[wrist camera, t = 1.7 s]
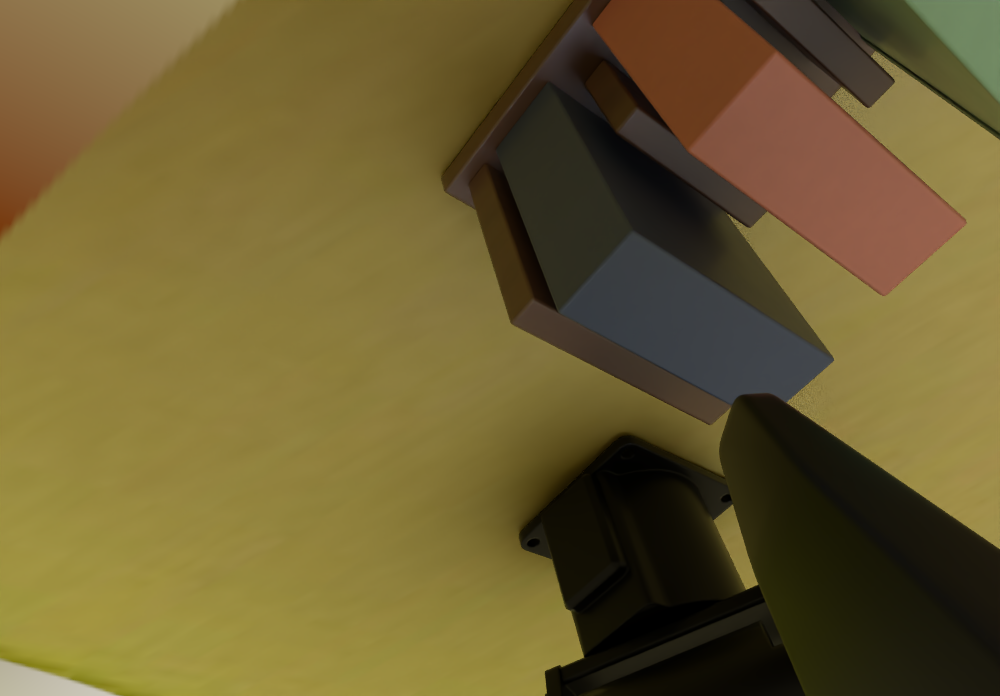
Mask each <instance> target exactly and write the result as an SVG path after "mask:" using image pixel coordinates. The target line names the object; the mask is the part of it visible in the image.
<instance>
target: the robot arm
mask: <svg viewBox="0 0 1000 696" xmlns="http://www.w3.org/2000/svg"><path fill="white" fill-rule="evenodd" d="M626 449H628V450H626ZM719 455H720V461H721V465H722V469H723V472H724V475H725V479H724V478H721V477H719V476H717V475H715V474H713V473H711V472H709V471H706V470H704V469H702V468H700V467H698V466H696V465H694V464H691V463H689V462H687V461H685V460H683V459H681V458H679V457H677V456H674V455H672V454H670V453H668V452H666V451H664V450H662V449H659V448H657V447H655V446H653V445H651V444H649V443H647V442H644V441H642V440H640V439H638V438H636V437H633V436H624V437H621V438H619V439H618V440H616V441H615V442H614V443H613V444H612V445H611V446H610V447H609V448H608V449H607V450H606V451H604V452H603V453H602V454H601V455H600V456H599V457H598V458H597V459H596V460H595V461H594V462H593V463H592V464H591V465H590V466H589V467H588V468H587V469H586V470H585V471H584V472H583V473H582V474H580V475H579V476H578V477H577V478H576V479H575V480H574V481H573V482H572V483H571V484H570V485H569V486H568V487H567V488H566V489H565V490H564V491H563V492H562V493H561V494H560V495H559V496H558V497H556V498H555V499H554V500H553V501H552V502H551V503H550V504H549V505H548V506H547V507H546V508H545V509H544V510H543V511H542V512H541V513H540V514H539V515H538V516H537V517H536V518H535V519H534V520H532V521H531V522H530V523H529V524H528V525H527V526H526V527H525V528H524V529H523V530H522V531H521V532H520V534H519V540H520V544H521V547H522V548H523V549H525V550H527V551H530V552H533V553H535V554H538V555H541V556H544V557H547V558H550V559H552V561H553V564H554V568H555V572H556V575H557V579H558V583H559V586H560V590H561V594H562V597H563V601H564V604H565V607H566V609H568V610H571V612H572V616H573V619H574V623H575V626H576V630H577V634H578V637H579V641H580V644H581V648H582V651H583V655H584V658H582V659H580V660H577V661H575V662H573V663H570V664H568V665H565V666H563V667H561V666H560V665H558V666H556V667H554V668H551V669H549V670H546V671H545V678H546V688H547V694H545V696H1000V549H999V548H997V547H996V546H994V545H993V544H991V543H990V542H988V541H987V540H985V539H984V538H983V537H981V536H980V535H978V534H977V533H975V532H974V531H972V530H971V529H969V528H968V527H967V526H965V525H964V524H962V523H961V522H959V521H958V520H956V519H955V518H953V517H952V516H950V515H949V514H948V513H946V512H945V511H943V510H942V509H940V508H939V507H937V506H936V505H934V504H933V503H932V502H930V501H929V500H927V499H926V498H924V497H923V496H921V495H920V494H918V493H917V492H916V491H914V490H913V489H911V488H910V487H908V486H907V485H905V484H904V483H902V482H901V481H899V480H898V479H897V478H895V477H894V476H892V475H891V474H889V473H888V472H886V471H885V470H883V469H882V468H881V467H879V466H878V465H876V464H875V463H873V462H872V461H870V460H869V459H867V458H866V457H864V456H863V455H862V454H860V453H859V452H857V451H856V450H854V449H853V448H851V447H850V446H848V445H847V444H846V443H844V442H843V441H841V440H840V439H838V438H837V437H835V436H834V435H832V434H831V433H829V432H828V431H827V430H825V429H824V428H822V427H821V426H819V425H818V424H816V423H815V422H813V421H812V420H811V419H809V418H808V417H806V416H805V415H803V414H802V413H800V412H799V411H797V410H796V409H795V408H793V407H792V406H790V405H789V404H787V403H786V402H784V401H783V400H781V399H780V398H778V397H777V396H775V395H773V394H771V393H755V394H743V395H740V396H738V397H737V398H736V399H735V400H734V402H733V404H732V407H731V410H730V413H729V416H728V419H727V422H726V425H725V429H724V432H723V435H722V438H721V441H720V447H719ZM732 504H733V506H734V509H735V512H736V516H737V519H738V523H739V526H740V529H741V533H742V536H743V539H744V543H745V546H746V550H747V553H748V556H749V559H750V562H751V565H752V568H753V571H754V574H755V577H756V579H757V582H758V584H759V585H757V586H754V587H752V588H750V589H747V590H746V589H745V587H744V585H743V583H742V581H741V578H740V576H739V574H738V572H737V570H736V568H735V566H734V564H733V561H732V559H731V557H730V555H729V553H728V551H727V549H726V547H725V544H724V542H723V540H722V538H721V536H720V534H719V532H718V530H717V527H716V525H715V523H714V521H713V520H714V519H716V518H717V517H718V516H719V515H720V514H722V513H723V512H724V511H725V510H726V509H728V508H729V507H730V506H731V505H732Z"/></svg>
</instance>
